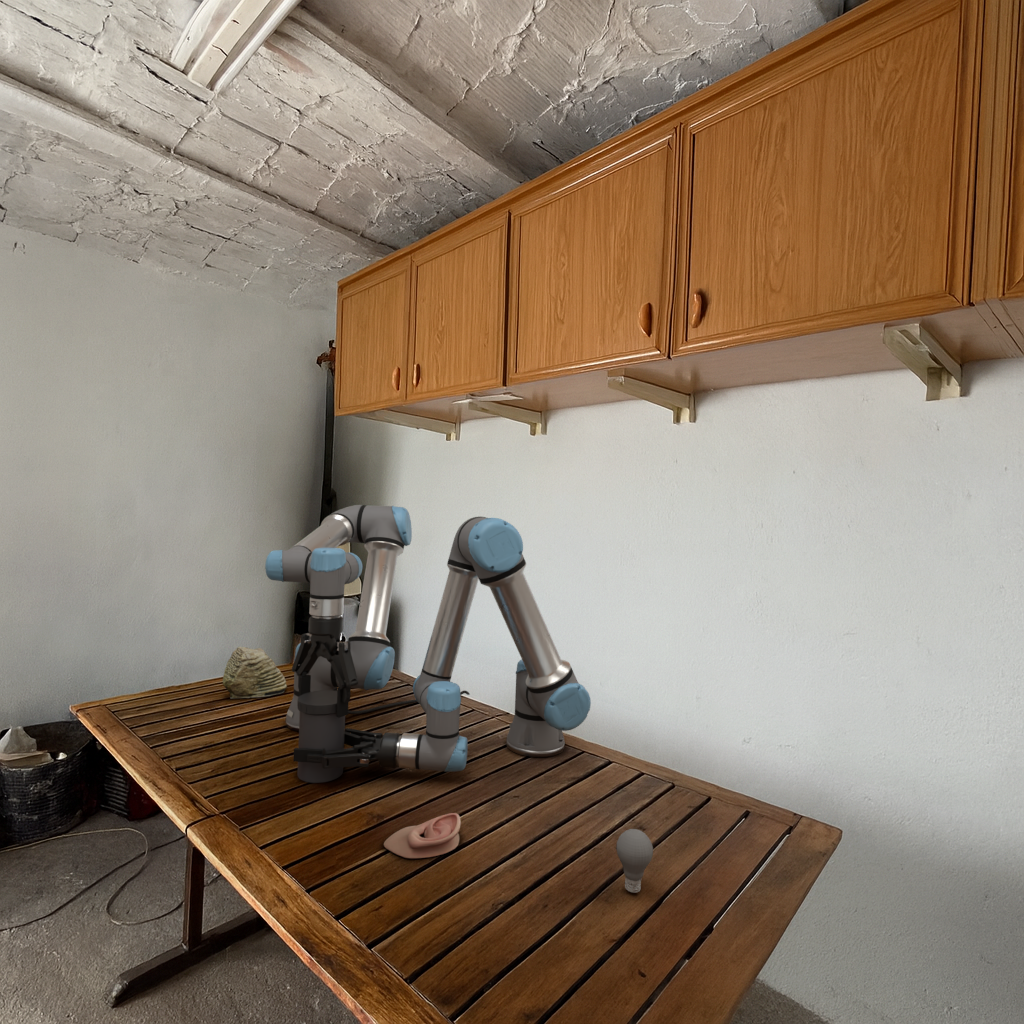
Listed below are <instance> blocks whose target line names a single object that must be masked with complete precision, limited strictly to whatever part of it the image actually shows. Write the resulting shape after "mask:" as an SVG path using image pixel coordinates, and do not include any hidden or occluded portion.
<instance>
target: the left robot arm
mask: <svg viewBox="0 0 1024 1024" xmlns="http://www.w3.org/2000/svg"><path fill="white" fill-rule="evenodd" d="M412 529H413V528H412V521H411V516H410V513H409V511H408V509H407V508H405V507H403V506H394V505H371V504H369V505H368V504H354V505H349V506H346V507H343V508H340V509H338V510H335V511H334V512H332V513H330V514H329V515H327V516H326V517H324V518H323V520H322V521H321V523H320V526H318V527H317V528H315V529H314V530H313V531H311V532H310V533H309V534H308V535H306V536H305V537H304V538H302V539H301V540H299V541H298V542H297V543H296V544H294V545H292V546H291V547H290V548H289V549H287V550H283V549H273V550H272V551H270V552H268V555H267V556H266V559H265V566H264V569H265V574H266V576H267V578H268V579H269V580H271V581H275V582H276V581H277V582H282V583H284V582H287V583H307V584H309V583H310V586H309V587H310V589H309V593H310V594H309V612H308V613H309V615H310V617H309V618H308V632H307V633H302V634H301V635H300V643H298V644H297V645H296V647H295V654H294V659H293V664H292V667H291V671H292V673H293V695H292V696H293V697H292V699H291V702H290V704H289V708H288V709H287V713H286V715H285V726H286V728H287V729H289V730H291V731H294V732H295V731H296V732H299V718H300V711H299V710H298V709H297V702H298V697H299V696H301V695H302V694H305V693H308V692H312V691H320V690H333V691H337V715H336V717H338V718H340V717H343V716H345V717H346V716H348V715H362V714H367V713H371V712H375V711H378V710H383V709H387V708H392V707H396V706H400V705H408V704H413V703H418V702H417V700H416V699H408V700H402V701H397V702H392V703H389V704H388V703H387V704H382V705H379V706H375V707H371V708H367V709H362V710H349V702H351V692H352V691H351V689H359V690H365V691H370V690H382V689H383V688H384V687H385V686H386V685H387V684H388V683H389V681H390V678H391V677H392V676H391V675H392V673H393V670H394V666H395V657H396V653H395V649H394V648H393V647H392V646H391V641H390V639H389V638H388V637H387V629H388V623H389V615H390V609H391V602H392V596H393V591H394V590H393V588H394V581H395V575H396V569H397V563H398V562H397V561H398V557H399V556H400V555H402V554H403V553H404V548H405V547H408V546H410V545H411V542H412V537H413V536H412V535H413V534H412V533H413V531H412ZM347 543H355V544H363V545H364V549H365V550H366V552H367V559H366V566H365V569H364V568H363V562H362V560H361V558H360V557H359V556H358V555H357V554H356V553H353V552H347V551H345V550H344V549H343V548H340V546H341V547H342V546H345V545H347ZM363 569H364V577H363V583H362V589H361V595H360V600H359V607H358V612H357V619H356V623H355V624H356V625H355V630H354V632H353V633H352V634H350V635H349V636H348V638H347V640H346V641H341V638H340V635H341V634H342V633H343V631H344V617H343V616H342V615H344V613H345V612H344V611H345V586H346V585H348V584H351V583H354V582H355V581H356V580H358V578H360V576H361V575H362V572H363ZM464 694H466V695H467V696H469V695H471V694H470V692H469V691H467V690H462V691H460V696H462V695H464Z"/></svg>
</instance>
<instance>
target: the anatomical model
mask: <svg viewBox="0 0 1024 1024" xmlns="http://www.w3.org/2000/svg"><path fill="white" fill-rule="evenodd" d="M461 820H462V819H461V816H460V815H459V813H456V812H450V813H446V814H443V815H439V816H437V817H434V818H431V819H428V820H427V821H425V822H423V823H420V824H418V825H409V826H406V827H403V828H400V829H399V830H397V831H395V832H394V833H393V834H391V835H390V836H388V838H386V839H385V841H384V842H383V847H384V848H385V849H386V850H388V851H389V852H391V853H393V854H395V855H396V856H400V857H402V858H405V859H425V858H432V857H436V856H440V855H441V856H442V855H444V854H447V853H449V852H451V851H453V850H456V848H457V847H458V845H459V843H460V834H459V832H460V829H461V826H462V825H461V824H462V822H461Z"/></svg>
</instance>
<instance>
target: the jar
mask: <svg viewBox="0 0 1024 1024" xmlns="http://www.w3.org/2000/svg"><path fill="white" fill-rule="evenodd" d="M336 715H337V713H332V714H323V715H315V714H307V713H303V712H301V711H300V718H299V731H298V747H297V748H305V749H324V748H325V750H326V752H327V751H333V750H340V749H345V744H344V733H345V729H346V715H345V716H343V717H340V718H338V717H336ZM343 773H344V767H341V768H325V769H324V768H322V763H312V762H297V773H296V775H297V778H298V779H299V780H300V781H303V782H305V783H309V784H310V783H311V784H321V783H327V782H332V781H334V780H337V779H338V778H340V777H341V776H342V775H343Z"/></svg>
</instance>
